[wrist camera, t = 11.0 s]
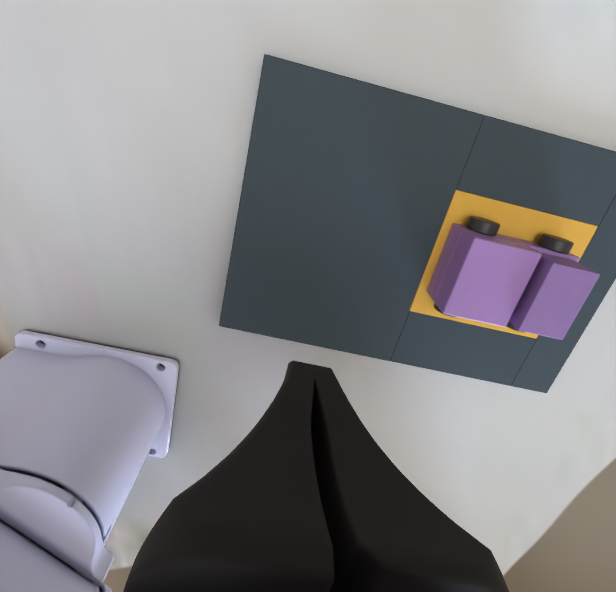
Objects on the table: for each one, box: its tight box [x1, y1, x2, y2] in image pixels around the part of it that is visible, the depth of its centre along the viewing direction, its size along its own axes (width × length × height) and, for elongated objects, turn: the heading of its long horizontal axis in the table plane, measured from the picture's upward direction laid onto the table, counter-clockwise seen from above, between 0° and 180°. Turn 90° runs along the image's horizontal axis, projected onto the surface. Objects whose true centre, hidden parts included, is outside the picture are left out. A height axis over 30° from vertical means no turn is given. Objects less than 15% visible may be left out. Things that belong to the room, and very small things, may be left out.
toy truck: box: [427, 216, 600, 340], centre depth 20 cm, size 6×5×3 cm
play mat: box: [219, 54, 616, 393], centre depth 21 cm, size 21×14×1 cm, turn 77°
